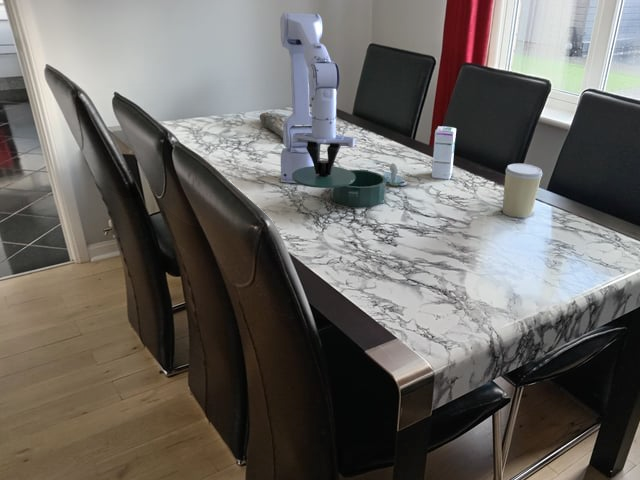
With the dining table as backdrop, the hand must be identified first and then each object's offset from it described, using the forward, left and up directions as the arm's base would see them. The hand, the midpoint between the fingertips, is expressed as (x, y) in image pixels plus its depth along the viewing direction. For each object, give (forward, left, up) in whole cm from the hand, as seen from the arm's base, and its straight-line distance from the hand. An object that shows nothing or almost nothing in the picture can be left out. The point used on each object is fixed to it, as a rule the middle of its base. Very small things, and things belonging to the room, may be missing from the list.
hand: (323, 173), depth 142 cm
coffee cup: (+50, +13, -10) cm, 53 cm away
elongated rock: (-31, +73, -10) cm, 80 cm away
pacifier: (+16, +27, -10) cm, 33 cm away
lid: (0, 0, -1) cm, 1 cm away
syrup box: (+29, +38, -10) cm, 49 cm away
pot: (+7, +13, -10) cm, 18 cm away
